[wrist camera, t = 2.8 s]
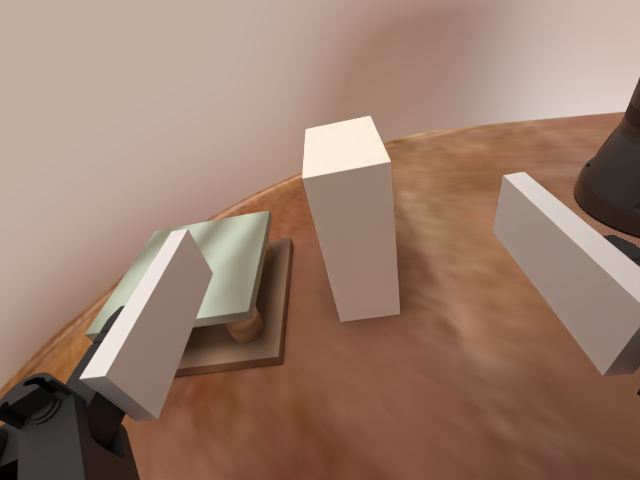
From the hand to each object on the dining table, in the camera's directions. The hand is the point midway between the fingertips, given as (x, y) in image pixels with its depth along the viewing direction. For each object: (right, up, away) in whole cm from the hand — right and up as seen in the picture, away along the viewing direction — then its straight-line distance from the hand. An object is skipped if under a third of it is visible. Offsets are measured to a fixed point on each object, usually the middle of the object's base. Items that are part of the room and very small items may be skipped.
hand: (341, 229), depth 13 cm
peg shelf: (-12, -7, +20) cm, 25 cm away
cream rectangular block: (+4, -5, +18) cm, 19 cm away
